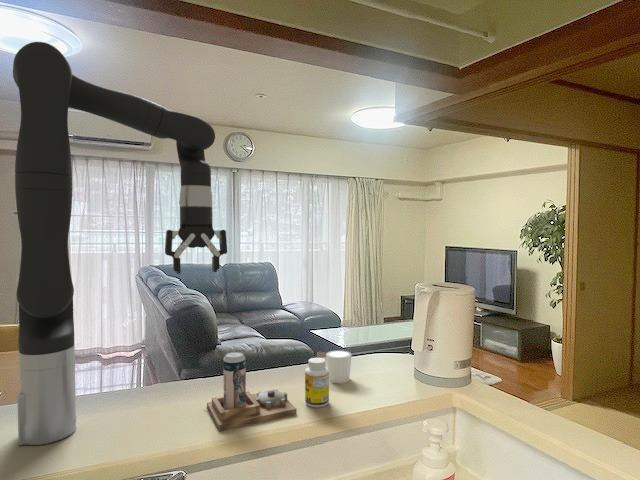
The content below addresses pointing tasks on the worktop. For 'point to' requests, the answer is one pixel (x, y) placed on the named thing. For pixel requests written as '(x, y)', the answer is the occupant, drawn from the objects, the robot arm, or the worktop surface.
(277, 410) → the gear board
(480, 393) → the worktop surface
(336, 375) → the white cup
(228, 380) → the beer can
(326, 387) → the supplement bottle
